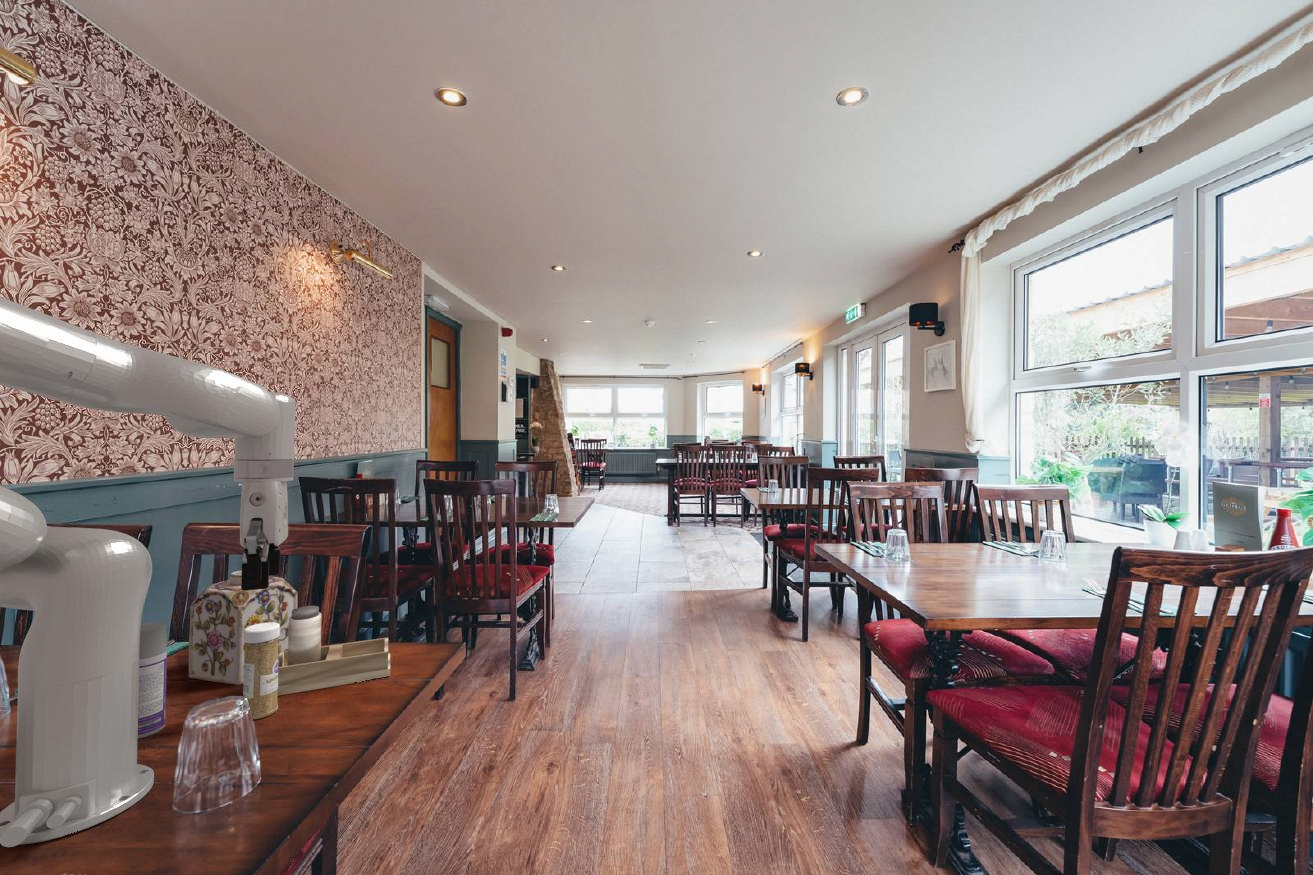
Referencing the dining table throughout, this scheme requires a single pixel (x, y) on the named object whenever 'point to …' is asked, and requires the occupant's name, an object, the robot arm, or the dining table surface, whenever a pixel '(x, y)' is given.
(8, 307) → the robot arm
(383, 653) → the wooden caddy
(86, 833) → the dining table surface
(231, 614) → the decorative jar
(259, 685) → the sprinkles bottle
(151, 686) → the container
